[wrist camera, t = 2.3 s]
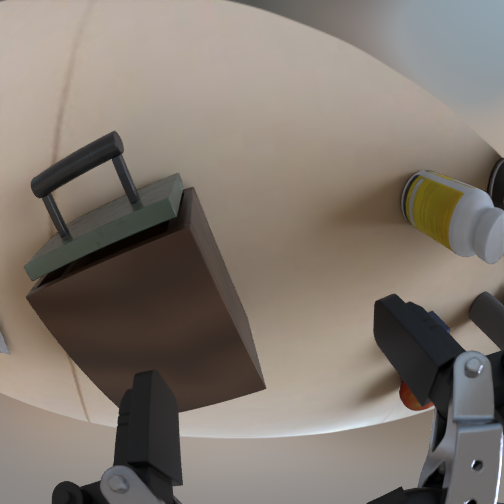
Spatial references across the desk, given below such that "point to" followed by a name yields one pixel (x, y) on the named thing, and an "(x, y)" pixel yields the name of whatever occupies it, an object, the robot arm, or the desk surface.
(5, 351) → the paper stack
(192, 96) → the desk surface
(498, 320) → the bottle
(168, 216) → the drawer
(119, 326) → the cabinet
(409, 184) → the pill bottle
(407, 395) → the apple
